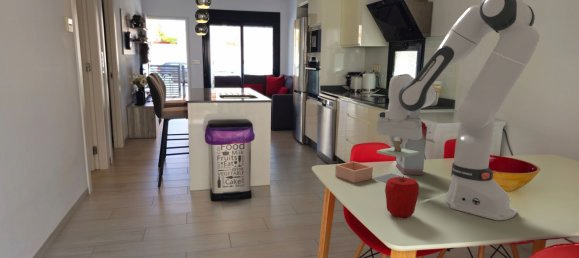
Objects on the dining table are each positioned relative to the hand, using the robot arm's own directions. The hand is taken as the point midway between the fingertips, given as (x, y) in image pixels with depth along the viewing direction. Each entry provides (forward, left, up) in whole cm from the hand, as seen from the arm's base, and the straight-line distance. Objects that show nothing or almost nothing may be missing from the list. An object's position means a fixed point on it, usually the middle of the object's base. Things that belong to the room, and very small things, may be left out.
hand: (398, 147), depth 156 cm
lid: (0, 0, -2) cm, 2 cm away
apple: (-23, +28, -15) cm, 39 cm away
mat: (+1, 0, -15) cm, 15 cm away
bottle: (+6, -17, -15) cm, 23 cm away
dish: (+13, +12, -15) cm, 23 cm away
